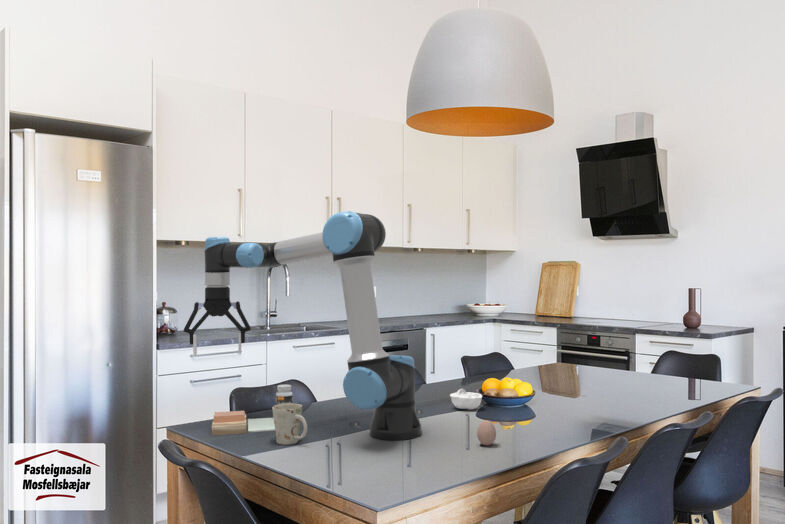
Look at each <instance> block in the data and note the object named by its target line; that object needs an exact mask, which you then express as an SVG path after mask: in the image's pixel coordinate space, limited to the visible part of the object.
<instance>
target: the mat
mask: <svg viewBox="0 0 785 524" xmlns="http://www.w3.org/2000/svg"><path fill="white" fill-rule="evenodd" d="M272 431H275V425H274V418H273V417H264V418H263V417H261V418H247V433H258V432H272Z"/></svg>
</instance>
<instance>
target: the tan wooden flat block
mask: <svg viewBox="0 0 785 524" xmlns="http://www.w3.org/2000/svg"><path fill="white" fill-rule="evenodd" d="M247 433H248V427H247V413H245V421H240V422H225V423H214V416H213V418H212V423H211V436H213V437H214V436H224V435H225V436H227V435H228V436H229V435H240V434H241V435H243V434H247Z"/></svg>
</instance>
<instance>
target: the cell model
mask: <svg viewBox="0 0 785 524" xmlns="http://www.w3.org/2000/svg"><path fill="white" fill-rule="evenodd" d="M449 398H450V400H451V402H452V404H453V406H455V408H457V409H460V410H469V411H471V410H475V409H477V408H479V407H480V405H481V404H482V403H481V402H482V398H483V394H481V393H479V392H471V391H470V392H469V391H466V390H465V389H464V388H460V389H458V390H457V391H456V392H452V393H450V394H449Z"/></svg>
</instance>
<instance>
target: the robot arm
mask: <svg viewBox="0 0 785 524" xmlns="http://www.w3.org/2000/svg"><path fill="white" fill-rule="evenodd" d="M386 233H387V232H386V228H385V226H384V224H383V222H382V221H381V220H380V219H379V218H378V217H376V216H375V215H372V214H369V213H360V212H354V211H349V210H348V211H340V212H336V213H334V214H333V215H331V216H330V217H329V218H328V219H327V221H326V222H325V224H324V225H323V229H322V232H318V233H314V234H308V235H303V236H299V237H295V238H290V239H284V240H280V241H276V242H270V243H257V242H247V241H246V242H237V243H231V242H230V241H231V240H230V238H229V237H225V236H217V237H216V236H212V237H211V236H210V237H207V238H206V239H205V241H204V242H205V243H204V286H206V287H205V288H204V302H199V301H196V302H194V305H193V311H192V312H191V315H190V316H189V318H188V320H187V322H186V324H185V326H184V328H183V332H184V333H186V334H189V344H190V345H193V348H192V349H193V350H192V351H193V356H197V354H198V353H197V352H198V351H197V348H198V347H197V345H198V344H197V342H198V340H197V339H198V338H197V337H198V336H197V335H198V333H195V332H196V331H197V330H198V329H199V327H201V325H202V324H203V322H205V321H206V319H207V318H208V317H209V316H211V317H223V316H226V317H227V318H228V319H229V320H230V322H232V324H233V325H234V326H235V327H236V328H237V329H238V331H239V332H238V355H242V344H245V343H246V333H247V332H249V331H251V326H250V323H249V321H248V320H247V318H246V316H245V313H244V312H243V310H242V308H241V303H240V301H239V300H238V301H236V302H234V301H233V302H231V290H230V289H231V288H230V287H229V286H230V284H231V283H230V281H231V279H230V278H231V277H230V276H231V268H242V269H243V268H245V269H253V268H271V269H273V268H280V267H281V266H283V265H287V264H292V263H299V262H304V261H309V260H315V259H320V258H325V257H330V256H332V260H333V264H334V265H335V266H337V267H338V268H339V272H340V279H341V286H342V291H343V292H342V293H343V300H344V306H345V307H344V308H345V314H346V321H347V328H348V335H349V341H350V342H349V343H350V349H351V355H350V357H349V358H348V359H347V369H348V371H347V373H346V375H345V376H344V378H343V381H342V382H343V383H342V389H343V393H344V396H345V397H346V399H347V400H348V402H350V403H351V404H352V406H354V407H355V408H358V409H361V410H370V409H374V411H373V415H372V419H371V421H370V424H369V435H370V436H371V437H373V438H375V439H380V440H389V441H394V440H395V441H400V440H410V439H414V438H417V437H419V436H421V435H422V424H421V421H420V418H419V416H418V412H417V409H416V381H415V380H416V376H415V374H416V373H415V372H416V366H415V360H414V358H413V356H409V355H399V354H398V355H396V354H395V355H394V354H389V353H388V352H386V351H385V350H384V349H383V344H382V343H383V342H382V336H381V329H380V328H381V327H380V323H379V316H378V309H377V308H378V307H377V301H376V294H375V286H374V280H373V274H372V266H371V264H372V263H373V260H374V259H375V258H376V255H375V253H376V252H377V251H378V250H380V249H381V248H382V246H383V245H384V243H385V241H386V235H387V234H386ZM231 307H233V308H234V309H235V310H236V312H237V313H238V315H239V318H240V319H241V321H242V323H243V325H244V327H243V326H242V325H241V323H240V322H239V321H238V320H237V319H236V318H235V317H234V315H232V313H231V311H229V310H230V309H231ZM202 308H204V310H205V311H206V312H205V313H204V314H203V315H202V317H201V318H200V319H199V320H198V321H197V322H196V323H195V324H194V325H193V327H192V328H191V326H192V324H193V322H194V320H195V317H196V315H197V313H198V312H199V310H201V309H202Z"/></svg>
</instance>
